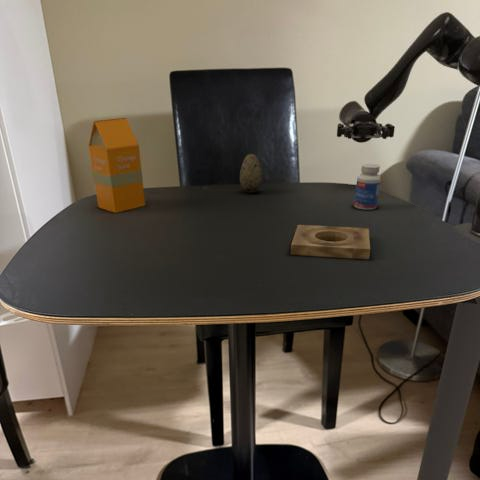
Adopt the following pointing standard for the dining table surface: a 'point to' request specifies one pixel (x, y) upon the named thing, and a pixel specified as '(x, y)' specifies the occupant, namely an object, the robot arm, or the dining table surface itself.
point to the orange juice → (116, 165)
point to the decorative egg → (250, 174)
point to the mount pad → (316, 244)
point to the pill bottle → (367, 187)
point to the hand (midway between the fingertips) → (367, 134)
